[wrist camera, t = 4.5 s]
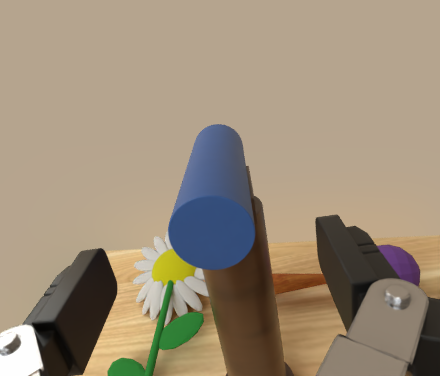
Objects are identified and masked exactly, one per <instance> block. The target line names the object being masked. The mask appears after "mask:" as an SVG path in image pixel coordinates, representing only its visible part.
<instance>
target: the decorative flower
mask: <svg viewBox="0 0 440 376" xmlns="http://www.w3.org/2000/svg"><path fill="white" fill-rule="evenodd" d="M154 245H155V248H156V250H157V251H156V250H154V249H152V248H148V247H143V248H142V250H141V252H142V254H143V255H144V257H145V258H146V259H147V260H141V261H138V262H136V263H135V264H134V267H135V268H136V269H138V270H141V271H148V272H145V273H143V274H140V275H139V276H138V277H136V278H135V279H134V281H133V284H142V283H145V284H144V286H143V287H142V289H141V290H140V292H139V294H138V296H137V298H136V302H137V303H139V302H141V301H142V300H144V299H145V298H146V299H145V302H144V306H143V310H142V313H143V315H144V314H146V312H147V311H148V309H149V308H150V318H151V319H152V321H153V320H154V319H155V318H156V317H157V315H158V313H159V311H160V315H159V319H158V323H157V327H156V331H155V335H154V339H153V343H152V347H151V350H150V354H149V358H148V362H147V366H146V370H144V368H143V366H142V365H141V364H140V363H138V362H136V361H135V360H133V359H128V358H120V359H118V360H116V361H114V362H113V363H112V365H111V366H110V368H109V370H108V376H153V372H154V368H155V363H156V359H157V355H158V350H159V348H160V349H162V350H168V349H174V348H176V347H178V346H180V345H182V344H183V343H185V342H187V341H188V340H190V339H191V338H192V337H193V336H194V335H195V334H196V333H197V332H198V330H199V329H200V327H201V326H202V324H203V322H204V317H203V314H202V313H198V312H191V313H188V309H187V305H186V302H187V303H188V304H189V305H190V306H191V307H192V308H194V309H195V310H197V311H202V304H201V301H200V299H199V297H198V296H197V294H196V293H195V292H197V293H199V294H201V295H204V296H207V297H209V295H208V291H207V287H206V283H205V282H204V281H203V280H205V279H204V275H203V271H202V269H201V268H197V267H194V266H192V265H190V264H188V263H186V262H185V261H183V260H182V259H181V258H180V257H179V256H178V255H177V254H176V253H175V251H174V250H173V248H172V246H171V244H170V241H169V236H168V232H167V233H166V236H165V242H164V241H163V240H162V239H161V238H160V237H158V236H157V237H155V238H154ZM185 301H186V302H185ZM173 307H174V309H175V311H176V313H177V315H178V316H179V317H178V318H176V319H175V320H173V321H172V322H171V323H170V324H168V323H169V322H170V319H171V316H172V312H173ZM167 324H168V325H167ZM164 325H167V326H166V327H165V328H164Z"/></svg>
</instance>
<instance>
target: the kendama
mask: <svg viewBox="0 0 440 376" xmlns="http://www.w3.org/2000/svg"><path fill="white" fill-rule="evenodd" d="M377 247H378V248H379V250H380V252H382V254H383V255H384V257H385V258H386V259H387V261H388V262H389V263H390V265H391V266H392V268H393V269H394V270H395V272H396V273H397V274H398V276H399V277H400V278H401V280H405V281H408V282H410V283H413V284H414V285H416V286H419V283H420V269H419V266H418V264H417V263H416V261H415V260H414V258H413V257H412V255H410V254H409V253H407V252H406V251H404V250H403V249H401V248H400V247H396V246H392V245H381V246H377ZM272 277H273V284H274V291H275V294H279V293H284V292H289V291H294V290H298V289H303V288H308V287H313V286H317V285H322V284H327V283H326V280H325V278H324V275H323V274H272Z"/></svg>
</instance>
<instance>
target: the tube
mask: <svg viewBox="0 0 440 376" xmlns="http://www.w3.org/2000/svg"><path fill="white" fill-rule="evenodd" d="M168 236H169V241H170V244H171V246H172V248H173V250H174V251H175V253H176V254H177V255H178V256H179V257H180V258H181V259H182V260H183V261H185V262H186V263H188V264H190V265H192V266H194V267H197V268H201V269H206V270H220V269H225V268H228V267H231V266H233V265H235V264H237V263H239V262H240V261H241V260H243V259H244V258H245V257H246V256H247V254H248V253H249V252H250V250H251V248H252V246H253V244H254V240H255V225H254V218H253V211H252V204H251V198H250V191H249V184H248V178H247V171H246V164H245V158H244V151H243V145H242V141H241V138H240V136H239V135H238V133H237V132H236V131H235V130H234V129H232V128H230V127H228V126H226V125H221V124H220V125H219V124H217V125H211V126H208V127H206V128H205V129H203V130H202V131H201V132H200V133H199V135H198V136H197V138H196V141H195V143H194V147H193V150H192V153H191V156H190V159H189V162H188V165H187V169H186V172H185V175H184V178H183V181H182V184H181V187H180V191H179V194H178V197H177V200H176V203H175V206H174V209H173V213H172V216H171V219H170V222H169V227H168Z"/></svg>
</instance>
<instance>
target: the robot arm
mask: <svg viewBox="0 0 440 376" xmlns="http://www.w3.org/2000/svg"><path fill="white" fill-rule="evenodd" d="M316 235H317V236H316V237H317V251H318V259H319V264H320V268H321V271H322V273H323V275H324V278H325V280H326V283H327V285H328V287H329V290H330V292H331V295H332V297H333V300H334V302H335V304H336V307H337V309H338V312H339V314H340V316H341V319H342V321H343V324H344V326H345V329H346V331H347V334H346V336H343V335H341V334H339V335H337V336H336V338H335V339H334V341H333V343H332V345H331V346H330V348H329V350H328V352H327V354H326V356H325V358H324V360H323V362H322V364H321V366H320V368H319V370H318V372H317V374H316V376H440V299H434V298H430V297H427V295H426V294H425V292H424V291H423V290H422V289H421V288H419V287H418V286H416V285H414V284H413V283H410V282H408V281H405V280H401V278H400V277H399V276H398V274H397V273H396V272H395V270H394V269H393V268H392V266H391V265H390V263H389V262H388V261H387V259H386V258H385V257H384V255H383V254H382V252H380V250H379V248H378V247H377V246H376V244H374V242H373V240H372V239H371V237H370V236H369V235H368V234H367V233H366V232H365V231H363V230H361V229H360V228H358V227H356V226H352V227H345V225H344V224H343V222H342V220H341V219H340V217H339V216H338V215H330V216H323V217H317V218H316ZM116 296H117V281H116V278H115V276H114V273H113V270H112V268H111V265H110V263H109V260H108V257H107V255H106V252H105V251H104V250H103V249H102V248H99V249H92V250H85V251H81V252H80V253H79V254H78V256H77V257H76V259H75V260H74V262H73V263H72V265H71V266H68V267H67V268H66V269H65V270H63V271H62V272H61V273H60V274H59V275H57V277H56V278H55V280H54V281H53V282H52V284H51V285H50V288H48V289H47V291H46V292H45V294H44V296H43V297H42V298H41V299H40V301H39V302H38V303H37V305H36V306H35V307H34V309H33V310H32V312H31V313H30V314H29V316H28V317H27V318H26V320H25V321H24V323H23V324H22V325H18V326H15V327H12V328H10V329H8V330H6V331H4V332H2V333H1V334H0V376H75V375H83V373H84V371H85V368H86V366H87V364H88V361H89V359H90V357H91V354H92V352H93V350H94V347H95V345H96V343H97V340H98V338H99V336H100V333H101V331H102V329H103V326H104V324H105V322H106V319H107V317H108V315H109V312H110V310H111V308H112V305H113V303H114V301H115V298H116Z"/></svg>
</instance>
